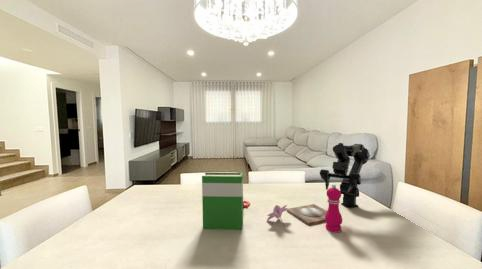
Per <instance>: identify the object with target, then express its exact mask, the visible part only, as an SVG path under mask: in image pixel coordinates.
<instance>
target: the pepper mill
mask: <svg viewBox="0 0 482 269" xmlns="http://www.w3.org/2000/svg"><path fill="white" fill-rule="evenodd" d="M326 197H327V203H328V206H327V209H326V210H327V212H326V214H325V221H326V222H325V229H326V230H327V231H329V232H331V233H340V232H341V231H342V226H341V225H342V223H343V216H342V214H341V212H340V208H339V206H340V205H339V204H341V200H340V198H342V194H341V192H340V188H337V185H336V184H332V185H331V187H328V189H327V190H326Z"/></svg>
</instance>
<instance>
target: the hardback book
mask: <svg viewBox="0 0 482 269" xmlns="http://www.w3.org/2000/svg"><path fill="white" fill-rule="evenodd" d="M204 174H205V175H201V188H202V190H201V192H202V193H201V194H202V195H201V198H202V202H201V203H202V204H201V205H202V229H203V230H225V231H226V230H232V231H234V230H235V231H242V230H243V225H244V207H243V201H244V178H243V177H244V176H243V175H244V173H243V172H207V171H206V172H205V173H204Z"/></svg>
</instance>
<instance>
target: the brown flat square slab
mask: <svg viewBox="0 0 482 269" xmlns="http://www.w3.org/2000/svg"><path fill="white" fill-rule="evenodd" d="M327 210H328V209H326V208H325V209H324V208H323V207H320V206H319V205H317V204H314V203H313V204H306V205H302V206H296V207H290V208H288V210H286V212H287V213H288V214H290V215H292V216H293V217H295V218H296V219H298V220H299V221H301V222H302V223H304V224H306V225H307V226H312V225H316V224H321V223H322V224H323V223H327V222H326V221H325V214H326V212H327Z"/></svg>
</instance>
